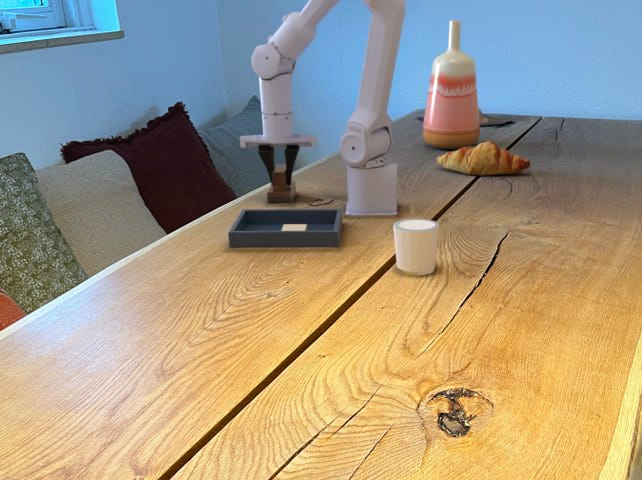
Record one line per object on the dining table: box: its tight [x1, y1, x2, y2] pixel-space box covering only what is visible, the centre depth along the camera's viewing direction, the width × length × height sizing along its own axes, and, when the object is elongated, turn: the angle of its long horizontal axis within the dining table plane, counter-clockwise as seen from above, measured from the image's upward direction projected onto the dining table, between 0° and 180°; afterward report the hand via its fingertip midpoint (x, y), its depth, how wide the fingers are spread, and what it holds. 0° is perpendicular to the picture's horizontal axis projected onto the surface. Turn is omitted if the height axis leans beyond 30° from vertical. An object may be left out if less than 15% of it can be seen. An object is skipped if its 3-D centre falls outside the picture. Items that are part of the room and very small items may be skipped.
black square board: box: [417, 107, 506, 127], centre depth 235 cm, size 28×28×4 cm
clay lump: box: [281, 224, 307, 231], centre depth 134 cm, size 4×4×1 cm
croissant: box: [436, 140, 531, 176], centre depth 176 cm, size 21×10×8 cm, turn 72°
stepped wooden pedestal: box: [266, 163, 297, 205], centre depth 156 cm, size 4×9×6 cm, turn 0°
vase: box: [422, 19, 481, 150], centre depth 196 cm, size 14×14×30 cm
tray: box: [227, 208, 344, 249], centre depth 134 cm, size 18×14×3 cm
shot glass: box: [392, 218, 440, 277], centre depth 119 cm, size 7×7×7 cm
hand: (281, 184), depth 156 cm, fingers closed on stepped wooden pedestal, 2 cm apart
